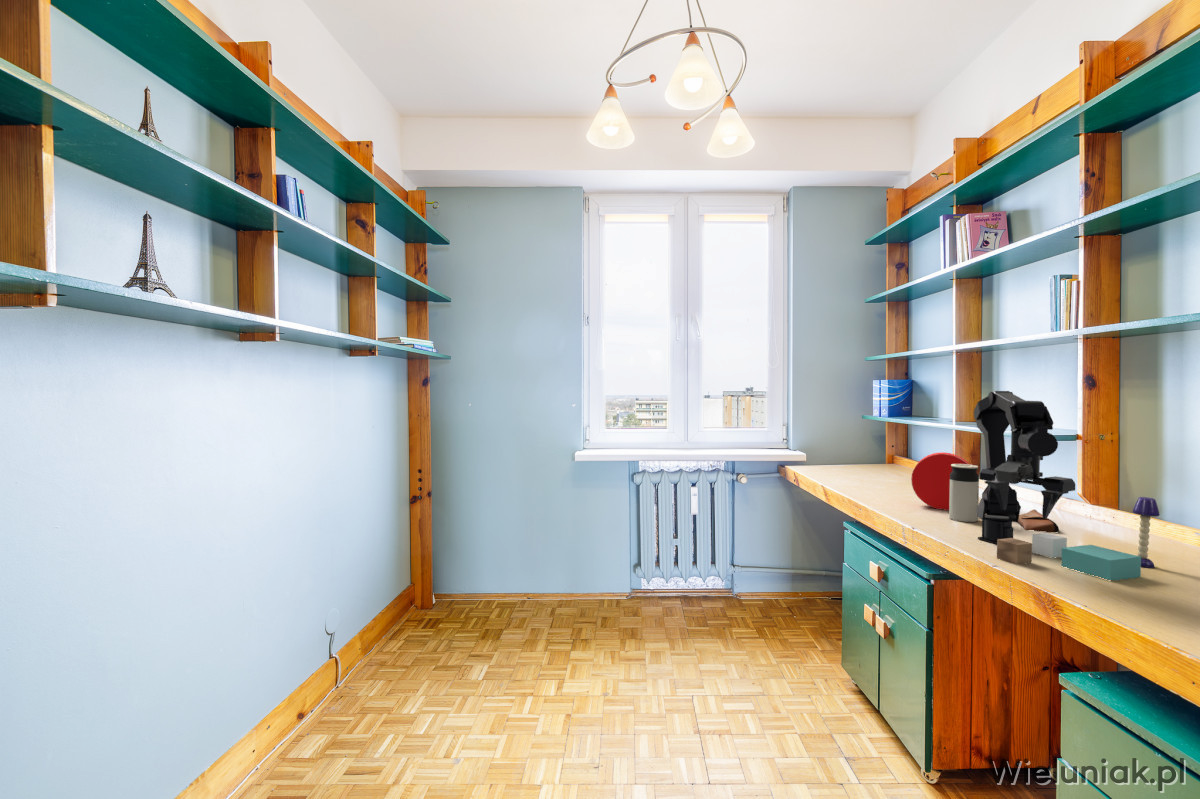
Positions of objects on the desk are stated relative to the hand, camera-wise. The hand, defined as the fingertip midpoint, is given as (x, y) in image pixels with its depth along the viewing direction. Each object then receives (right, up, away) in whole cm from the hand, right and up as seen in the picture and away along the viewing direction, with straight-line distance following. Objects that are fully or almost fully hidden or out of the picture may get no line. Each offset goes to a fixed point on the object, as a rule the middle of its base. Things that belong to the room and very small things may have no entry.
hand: (1023, 513), depth 135 cm
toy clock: (+18, -11, +61) cm, 64 cm away
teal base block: (+12, -13, -7) cm, 19 cm away
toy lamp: (+28, -12, -2) cm, 30 cm away
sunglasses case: (+32, -12, +37) cm, 50 cm away
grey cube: (+11, -12, +6) cm, 18 cm away
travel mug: (+14, -11, +44) cm, 47 cm away
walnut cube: (-2, -12, +1) cm, 12 cm away
